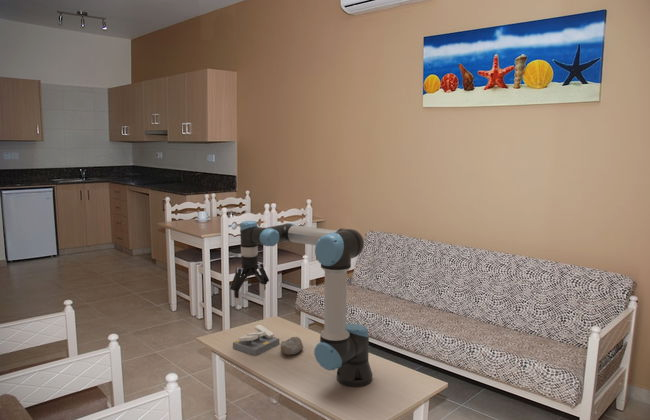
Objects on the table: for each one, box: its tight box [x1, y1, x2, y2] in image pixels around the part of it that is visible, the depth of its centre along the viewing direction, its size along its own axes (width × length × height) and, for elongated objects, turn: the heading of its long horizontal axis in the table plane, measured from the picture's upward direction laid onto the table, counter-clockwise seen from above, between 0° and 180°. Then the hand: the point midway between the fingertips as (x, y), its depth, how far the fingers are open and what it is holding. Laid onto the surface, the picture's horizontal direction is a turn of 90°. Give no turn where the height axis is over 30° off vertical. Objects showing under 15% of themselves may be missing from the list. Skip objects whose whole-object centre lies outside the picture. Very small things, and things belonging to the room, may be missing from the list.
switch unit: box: [232, 336, 280, 357], centre depth 242 cm, size 15×17×5 cm
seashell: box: [280, 336, 304, 356], centre depth 235 cm, size 9×12×15 cm
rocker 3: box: [253, 323, 275, 338], centre depth 246 cm, size 10×4×2 cm, turn 54°
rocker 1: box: [237, 335, 258, 341], centre depth 237 cm, size 10×4×2 cm, turn 54°
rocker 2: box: [245, 331, 266, 337], centre depth 242 cm, size 10×4×2 cm, turn 54°
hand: (250, 301), depth 225 cm, fingers open, 13 cm apart
